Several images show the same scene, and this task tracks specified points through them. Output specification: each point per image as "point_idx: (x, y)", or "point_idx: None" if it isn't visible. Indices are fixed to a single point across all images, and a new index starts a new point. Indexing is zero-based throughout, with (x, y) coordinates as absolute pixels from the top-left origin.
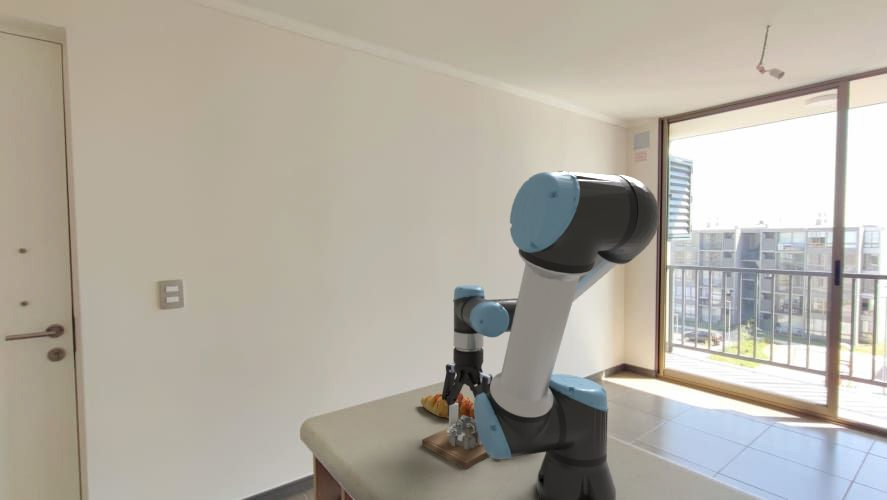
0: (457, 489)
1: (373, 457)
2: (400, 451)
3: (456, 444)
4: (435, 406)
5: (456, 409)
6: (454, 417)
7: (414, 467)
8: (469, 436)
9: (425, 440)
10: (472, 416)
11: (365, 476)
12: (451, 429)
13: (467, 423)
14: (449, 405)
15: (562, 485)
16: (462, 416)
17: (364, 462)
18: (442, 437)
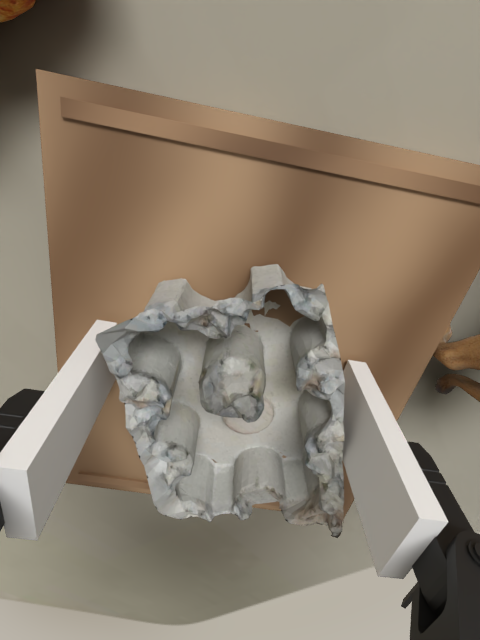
0: (358, 563)
1: (29, 564)
2: (57, 515)
3: (236, 464)
4: None
5: (56, 443)
6: (85, 413)
7: (176, 549)
8: (323, 522)
9: (86, 483)
10: (22, 12)
11: (105, 611)
12: (170, 483)
13: (209, 398)
14: (7, 536)
15: None
16: (105, 344)
17: (38, 585)
18: (123, 431)
